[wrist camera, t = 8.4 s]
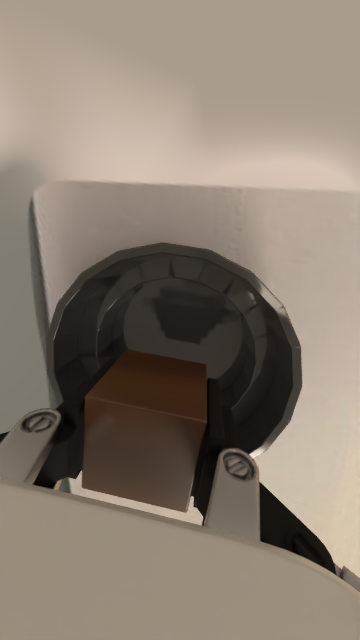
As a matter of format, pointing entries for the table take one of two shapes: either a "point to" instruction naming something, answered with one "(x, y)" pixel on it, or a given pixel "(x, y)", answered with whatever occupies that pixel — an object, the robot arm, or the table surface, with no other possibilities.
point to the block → (145, 429)
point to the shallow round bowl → (183, 331)
